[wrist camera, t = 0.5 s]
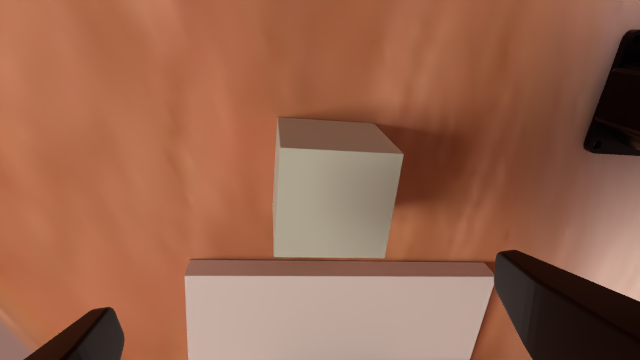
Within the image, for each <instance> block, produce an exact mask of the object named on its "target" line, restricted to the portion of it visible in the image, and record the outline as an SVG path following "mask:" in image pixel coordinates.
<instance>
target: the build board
mask: <svg viewBox="0 0 640 360" xmlns="http://www.w3.org/2000/svg"><path fill="white" fill-rule="evenodd" d="M493 286H494V274H493V272H492V271H491V270H490V269H489V268H488V267H487V265H486V264H485V263H484V262H394V261H287V260H190V261H189V264H188V267H187V270H186V273H185V294H186V317H187V339H188V360H470V358H471V354H472V351H473V348H474V345H475V342H476V339H477V336H478V333H479V329H480V326H481V323H482V320H483V317H484V314H485V311H486V308H487V305H488V301H489V298H490V295H491V292H492V289H493Z"/></svg>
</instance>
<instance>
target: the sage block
mask: <svg viewBox="0 0 640 360" xmlns="http://www.w3.org/2000/svg"><path fill="white" fill-rule="evenodd" d="M403 156H404V154H403V153H402V152H401V151H400V150H399V149H398V148H397V147H396V146H395V145H394V144H393V143H392V142H391V140H390V139H389V138H388V137H387V136H386V135H385V134H384V133H383V132H382V131H381V130H380V129H379V128H378V127H377V126H376V125H375V124H374V123H360V122H345V121H329V120H313V119H298V118H282V117H277V136H276V154H275V173H274V191H273V238H274V257H322V258H385V253H386V247H387V242H388V237H389V231H390V226H391V221H392V215H393V210H394V204H395V199H396V194H397V188H398V183H399V177H400V172H401V167H402V161H403Z"/></svg>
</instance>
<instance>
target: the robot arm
mask: <svg viewBox="0 0 640 360" xmlns="http://www.w3.org/2000/svg"><path fill="white" fill-rule="evenodd" d="M634 37H635V41H634V42H633V44H632V40H633V38H634ZM594 142H596V143H595V145H594V146H593V144H594ZM583 146H584V149H585V150H587V151H589V152H591V153H598V154H615V155H633V156H640V30H630V31H628V32H627V33H626V34H625V35H624V36H623V38H622V40H621V42H620V45H619V48H618V51H617V53H616V56H615V59H614V62H613V64H612V67H611V70H610V73H609V75H608V78H607V81H606V83H605V86H604V89H603V92H602V94H601V97H600V100H599V103H598V105H597V108H596V111H595V113H594V116H593V119H592V122H591V124H590V127H589V130H588V133H587V135H586V138H585V141H584V145H583ZM494 285H495V289H496V291H497V293H498V295H499V297H500V299H501V301H502V303H503V305H504V307H505V309H506V311H507V313H508V315H509V317H510V319H511V321H512V323H513V325H514V327H515V329H516V331H517V333H518V335H519V337H520V338H521V340H522V342H523V344H524V346H525V348H526V349H527V351H528V352H529V354H530V356H531V357H532V359H533V360H640V302H639V301H637V300H635V299H632V298H630V297H627V296H625V295H623V294H620V293H618V292H615V291H613V290H611V289H608V288H606V287H603V286H601V285H599V284H596V283H594V282H592V281H589V280H587V279H584V278H582V277H580V276H577V275H575V274H572V273H570V272H568V271H565V270H563V269H560V268H558V267H556V266H553V265H551V264H549V263H546V262H544V261H541V260H539V259H537V258H534V257H532V256H529V255H527V254H525V253H522V252H520V251H517V250H508V251H501V252H499V253H498V254H497V256H496V262H495V272H494ZM123 347H124V333H123V330H122V328H121V325H120V323H119V320H118V318H117V315H116V313H115V311H114V310H113V309H112V308H110V307H105V308H98V309H93V310H91V311H89V312H88V313H86V314H85V315H84V316H82V317H81V318H80V319H78V320H77V321H76V322H74V323H73V324H71V325H70V326H69V327H67V328H66V329H65V330H63V331H62V332H61V333H59V334H58V335H57V336H55V337H54V338H52V339H51V340H50V341H48V342H47V343H46V344H44V345H43V346H42V347H40V348H39V349H38V350H36V351H35V352H33V353H32V354H31V355H29V356H28V357H27V358H25V359H24V360H120V359H121V355H122V351H123Z"/></svg>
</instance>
